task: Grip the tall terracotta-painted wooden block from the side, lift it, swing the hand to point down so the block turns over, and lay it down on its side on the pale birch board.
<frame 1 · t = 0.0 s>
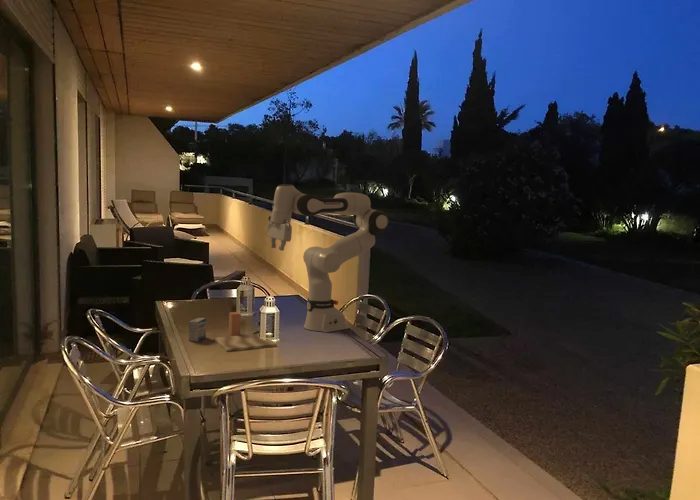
hand: (277, 249, 259), 39 cm above the table, tool pointing down, fingers open, 8 cm apart
medicine box: (197, 339, 246), on the table
birch board: (244, 343, 243), on the table
terracotta block: (234, 334, 255), on the table
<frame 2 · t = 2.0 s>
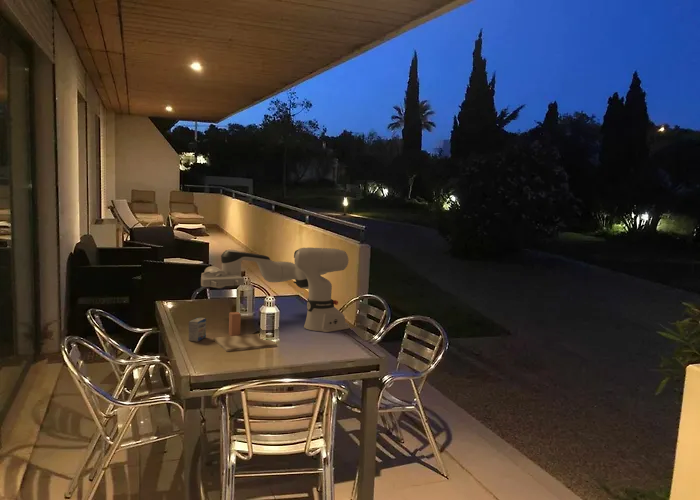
hand: (227, 284, 264), 21 cm above the table, tool horizontal, fingers open, 8 cm apart
nothing on the table moved.
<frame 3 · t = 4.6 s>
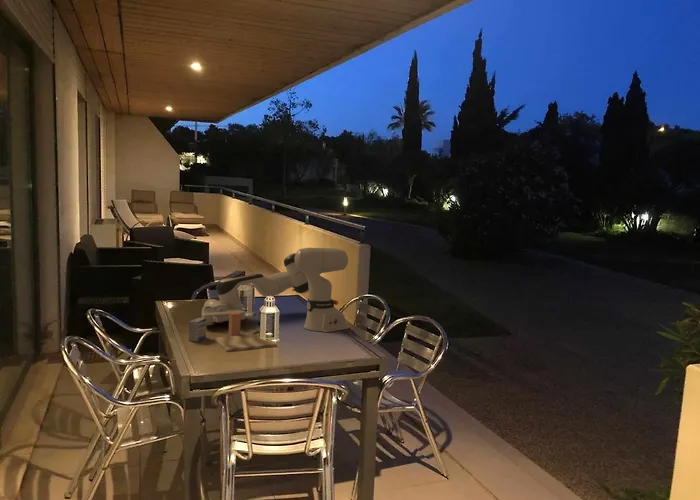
hand: (228, 319, 261), 5 cm above the table, tool horizontal, fingers open, 8 cm apart
nothing on the table moved.
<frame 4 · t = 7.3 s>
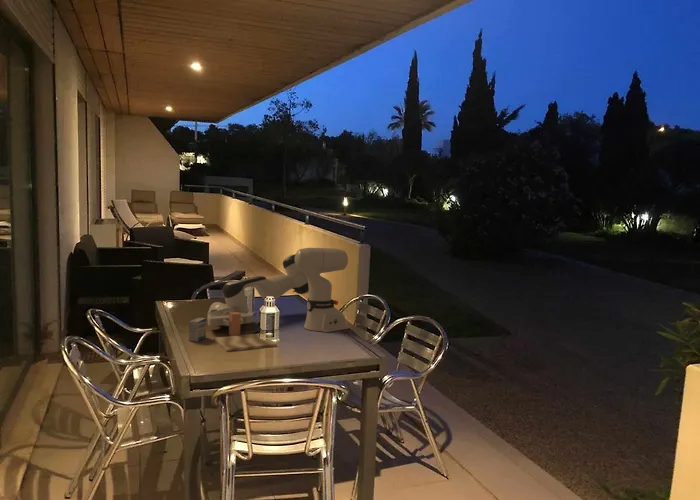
hand: (235, 323, 254), 6 cm above the table, tool horizontal, fingers closed on terracotta block, 4 cm apart
terracotta block: (234, 334, 255), on the table, touching gripper
everything else where it was.
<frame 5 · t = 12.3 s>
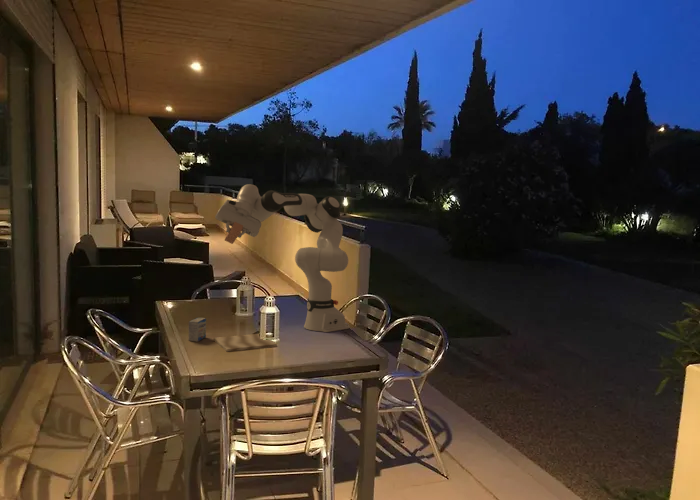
hand: (233, 234, 249), 46 cm above the table, tool tilted 45°, fingers closed on terracotta block, 4 cm apart
terracotta block: (229, 238, 253), point 43 cm above the table, tilted 53°, touching gripper
everything else where it was.
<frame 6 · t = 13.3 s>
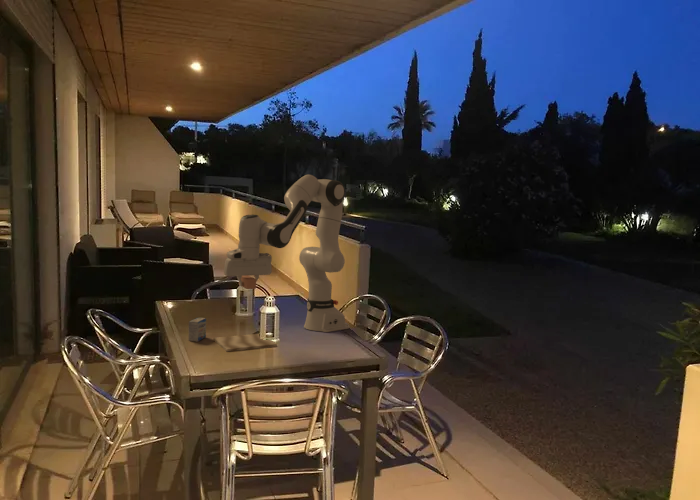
hand: (247, 285, 239), 25 cm above the table, tool pointing down, fingers closed on terracotta block, 4 cm apart
terracotta block: (243, 280, 244), point 27 cm above the table, tilted 90°, touching gripper
everything else where it was.
when the fingers open (4 cm above the table, at t = 17.3 s): terracotta block drops 2 cm, resting on birch board.
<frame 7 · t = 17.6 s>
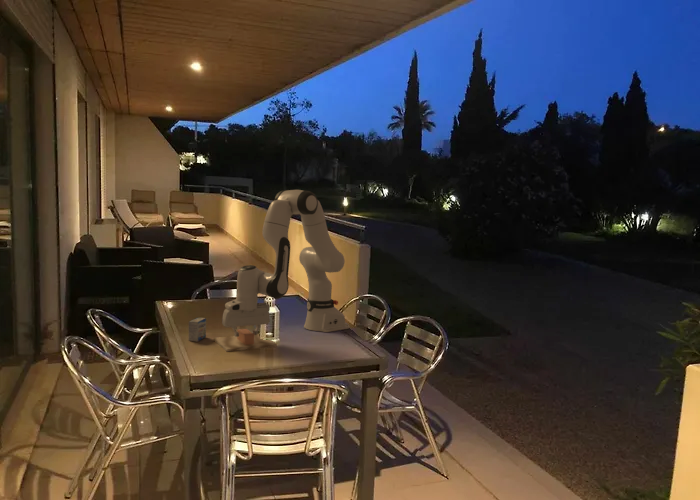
hand: (246, 335, 242), 4 cm above the table, tool pointing down, fingers open, 7 cm apart
terracotta block: (241, 333, 247), point 3 cm above the table, tilted 90°, touching birch board
everything else where it was.
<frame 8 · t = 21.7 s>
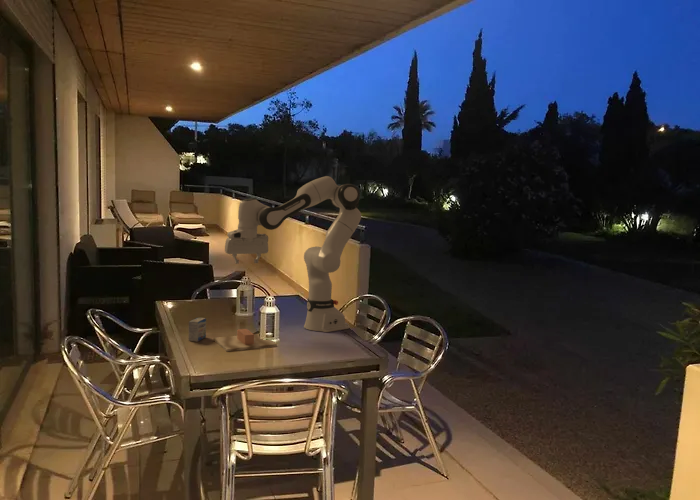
hand: (246, 263, 263), 31 cm above the table, tool pointing down, fingers open, 8 cm apart
nothing on the table moved.
at the end: terracotta block tilted 90°; terracotta block inside the target area (5.1 cm from its centre), point 3.0 cm above the table; the gripper is holding nothing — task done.
